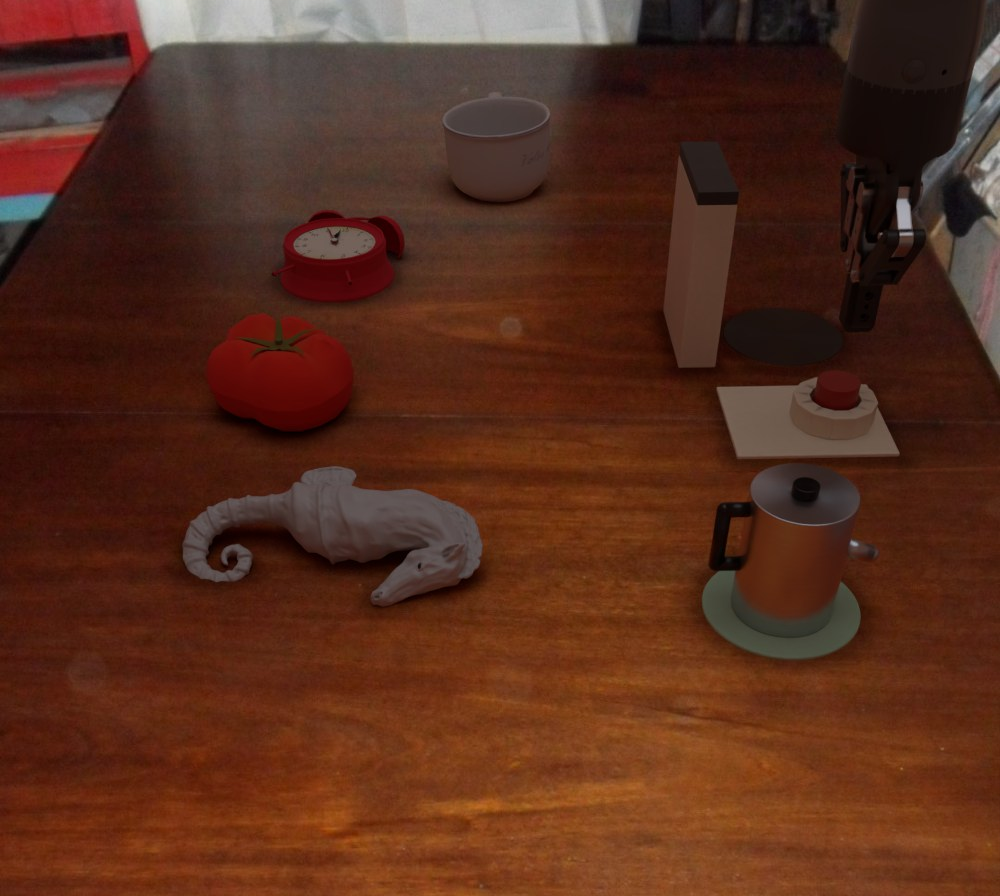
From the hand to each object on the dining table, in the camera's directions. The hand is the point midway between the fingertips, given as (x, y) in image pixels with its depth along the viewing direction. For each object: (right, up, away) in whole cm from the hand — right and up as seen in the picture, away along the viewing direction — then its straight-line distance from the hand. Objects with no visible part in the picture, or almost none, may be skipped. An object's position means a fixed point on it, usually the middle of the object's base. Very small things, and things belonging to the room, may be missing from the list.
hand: (855, 326), depth 85 cm
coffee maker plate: (-2, +4, +16) cm, 16 cm away
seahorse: (-37, -18, -5) cm, 41 cm away
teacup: (-26, +28, +40) cm, 55 cm away
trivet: (-8, -21, -9) cm, 25 cm away
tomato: (-42, -4, +9) cm, 43 cm away
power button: (0, -4, +4) cm, 6 cm away
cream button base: (-2, -6, +6) cm, 9 cm away
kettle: (-8, -21, -10) cm, 24 cm away
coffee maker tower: (-10, +3, +16) cm, 19 cm away
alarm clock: (-40, +13, +26) cm, 49 cm away
